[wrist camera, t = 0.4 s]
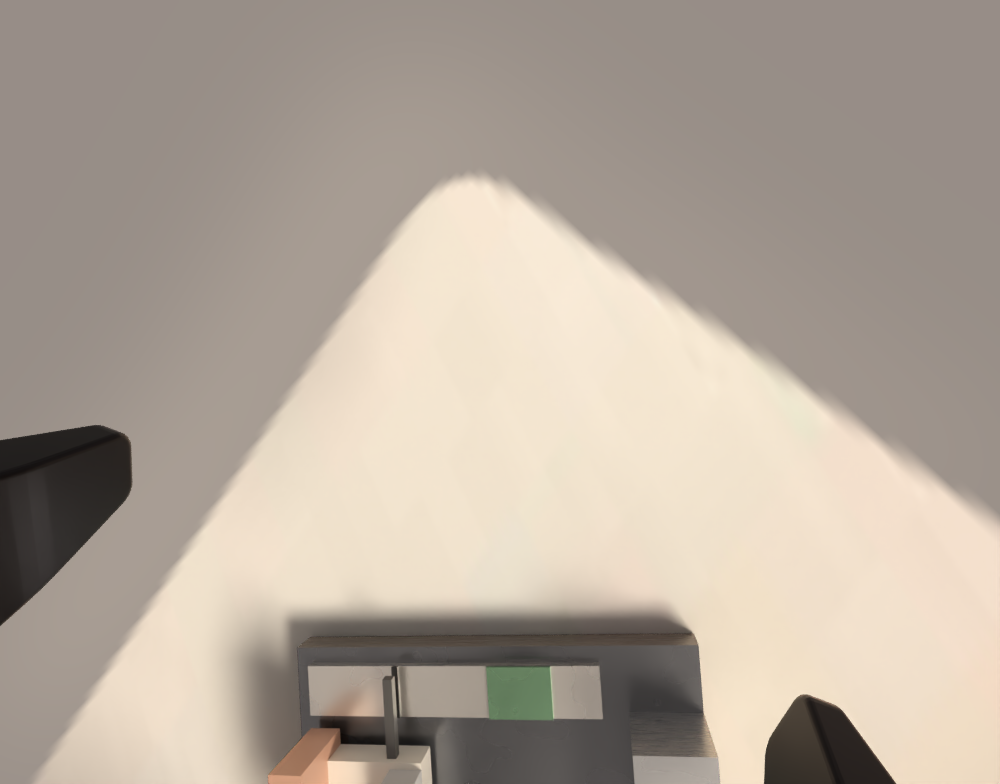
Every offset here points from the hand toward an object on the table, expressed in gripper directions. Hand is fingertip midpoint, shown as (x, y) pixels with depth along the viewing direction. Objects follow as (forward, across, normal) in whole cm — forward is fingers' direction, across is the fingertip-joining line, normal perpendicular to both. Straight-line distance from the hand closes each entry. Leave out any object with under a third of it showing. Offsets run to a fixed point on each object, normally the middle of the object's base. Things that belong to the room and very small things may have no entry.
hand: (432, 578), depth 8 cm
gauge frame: (+8, -2, +15) cm, 17 cm away
